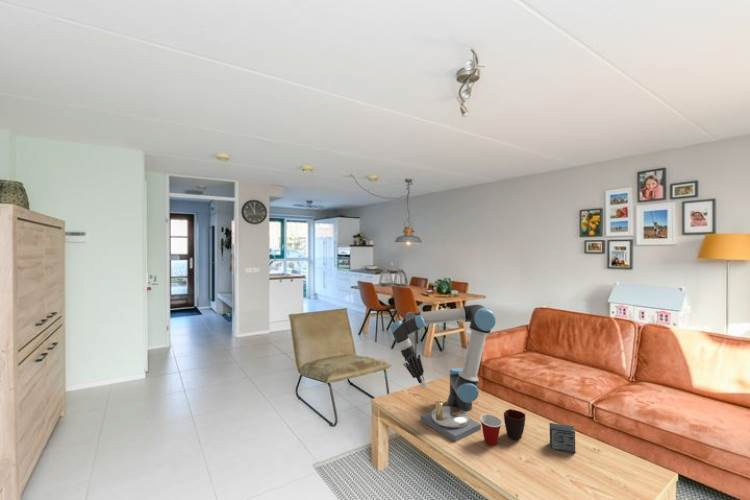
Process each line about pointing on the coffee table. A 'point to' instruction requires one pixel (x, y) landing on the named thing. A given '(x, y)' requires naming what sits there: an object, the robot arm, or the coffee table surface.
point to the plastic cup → (490, 428)
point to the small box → (562, 437)
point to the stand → (452, 433)
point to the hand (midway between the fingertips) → (424, 387)
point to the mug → (514, 423)
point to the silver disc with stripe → (449, 416)
